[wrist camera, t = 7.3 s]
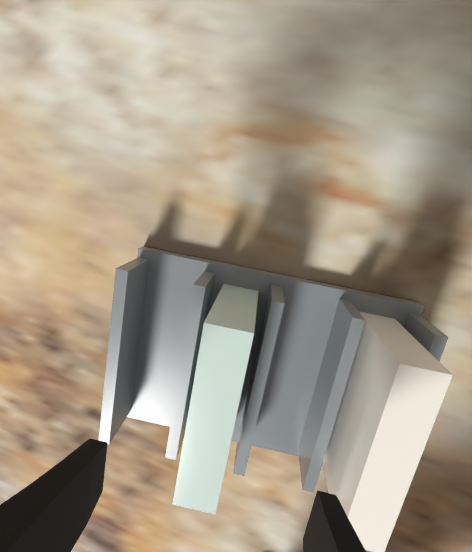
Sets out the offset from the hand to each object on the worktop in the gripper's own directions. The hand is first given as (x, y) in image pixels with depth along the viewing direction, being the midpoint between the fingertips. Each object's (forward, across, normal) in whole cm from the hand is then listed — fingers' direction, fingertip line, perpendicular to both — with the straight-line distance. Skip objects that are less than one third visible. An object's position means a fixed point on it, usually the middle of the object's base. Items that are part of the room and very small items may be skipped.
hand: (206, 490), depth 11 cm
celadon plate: (+9, 0, 0) cm, 9 cm away
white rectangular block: (+9, -7, 0) cm, 12 cm away
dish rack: (+10, -2, 0) cm, 10 cm away
